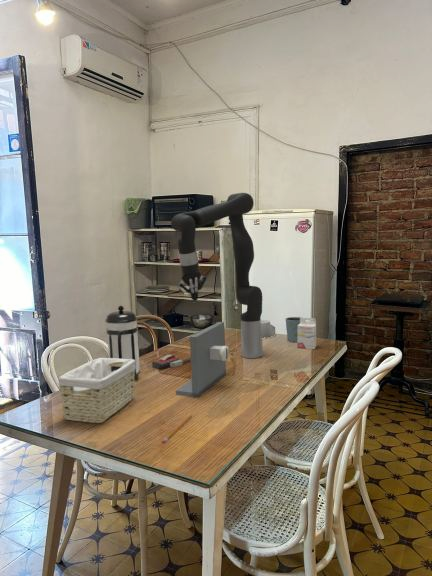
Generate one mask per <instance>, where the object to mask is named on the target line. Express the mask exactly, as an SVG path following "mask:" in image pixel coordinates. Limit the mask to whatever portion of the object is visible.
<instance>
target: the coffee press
mask: <svg viewBox="0 0 432 576" xmlns="http://www.w3.org/2000/svg"><path fill="white" fill-rule="evenodd" d="M124 309H125V308H124V306H123V305H118V307H117V310H118V311H113V312H110V313H109V314H107V316H106V318H105V320H104V321H105V323H106V330H105V331H106V335H107V336H106V337H107V350H108V358H118V359H134V360H135V373H134V374H135V375H134V382H136V381H138V380H139V376H138V374H139V373H140V372H141V371H140V359H139V357H140V356H139V337H138V331H139V328H138V320H139V319H138V318H139V317H138V315H137V314H136V313H135V312H133V311H129V310H124ZM109 367H110V372H113V371H116V370H118V369H119V368H121V367H116V366H113V367H112V366H109Z"/></svg>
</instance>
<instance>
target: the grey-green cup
mask: <svg viewBox="0 0 432 576" xmlns="http://www.w3.org/2000/svg"><path fill="white" fill-rule="evenodd" d="M300 318H303V317H301V316H291V317H286V318H285V327H286V329H285V330H286V337H287V338H286V339H287V342H288V341H289V342H288V343H293V344H295V343H296V344H297V329H298V325H299V324H300Z"/></svg>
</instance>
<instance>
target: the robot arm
mask: <svg viewBox="0 0 432 576" xmlns="http://www.w3.org/2000/svg"><path fill="white" fill-rule="evenodd" d="M254 204H255V203H254V198H253V196H251V194H249V193H247V192H240V193H239V192H238V193H232V194H230V195H228V197H227V199H226V201H225V202H221V203H220V202H219V203H216V204H215V203H214V204H212V205H208V206H204V207H200V208H198V209H196V210H192V211H187V212H182V213H181V212H180V213H178V214H176V215H174V216H173V217H172V218H171V221H170V225H171V228H172V229H173V230H174V231H176V232H178V233H179V232H180V233H181V236H180V238H179V239H178V240H177V247H178V255H179V257H178V258H179V263H180V269H181V280H180V282H177V285H178V286H179V287H180V288H181V289H183V290H184V291H185V292H186V293H188V294H190V299H191V300H192V301H193V302H195V301H198V299H199V291H200V290H202V288H203V287H204V284H205V282H206V280H207V277H206V276H204V275H202V274H201V273H200V272H201V271H200V264H199V258H198V254H197V248H196V243H195V240H196V231H197V230H196V229H197V228H196V227H203V226H206V225H209V224H211V223H213V222H216V221H219V220H222V219H225V218H228V220H229V225H230V231H231V240H232V249H233V258H234V267H235V283H236V285H235V288H236V290H235V292H236V295H235V296H236V300H237V301H238V303H239V304H241V305H243V306H246V311H245V312H242V313H241V314H240V335H241V336H240V338H241V340H240V342H241V347H240V348H241V357H242V358H245V359H259V358H261V357H263V355H264V354H263V351H264V350H263V349H264V348H263V339H262V336H261V320H262V319H261V317H262V313H263V292H262V290H261V288H260V287H259V286H255V285H250V271H251V268H252V266H253V263H254V259H255V251H254V243H253V239H252V237H251V236H250V234H249V232H248V230H247V228H246V226H245V223H244V215H246V214H248V213H250V212H251V211H252V210H253V208H254ZM185 284H186V285H187V287H186V286H185Z"/></svg>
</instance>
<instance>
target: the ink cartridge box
mask: <svg viewBox="0 0 432 576" xmlns="http://www.w3.org/2000/svg"><path fill="white" fill-rule="evenodd" d="M296 344H297V346H296V347H297V349H305V350H312V349H314V350H315V349H316V348H317V319H316V318H311V317H302V318H300V324H299V325H298V329H297V343H296Z"/></svg>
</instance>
